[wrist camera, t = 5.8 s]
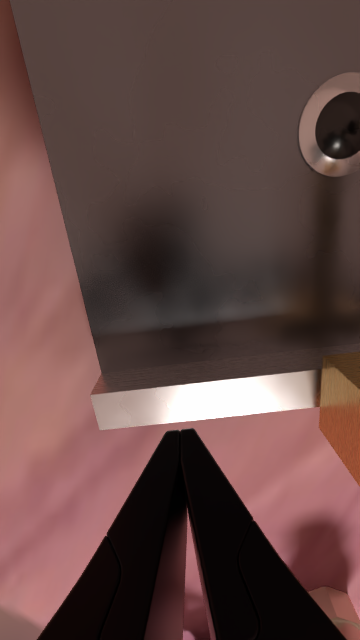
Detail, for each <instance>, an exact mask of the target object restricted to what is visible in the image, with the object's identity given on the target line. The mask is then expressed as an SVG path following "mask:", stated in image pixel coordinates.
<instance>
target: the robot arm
mask: <svg viewBox="0 0 360 640" xmlns="http://www.w3.org/2000/svg"><path fill="white" fill-rule="evenodd" d="M187 508H188V514H189V521H190V527H191V532H192V538H193V543H194V549H195V554H196V560H197V565H198V571H199V576H200V582H201V587H202V593H203V598H204V604H205V609H206V615H207V620H208V626H209V631H210V637H211V640H347V639H346V638H345V636H344V635H343V634H342V633H341V632H340V630H339V629H338V628H337V627H336V626H335V624H334V623H333V622H332V621H331V619H330V618H329V617H328V616H327V615H326V613H325V612H324V611H323V610H322V609H321V607H320V606H319V605H318V604H317V602H316V601H315V600H314V599H313V598H312V596H311V595H310V594H309V593H308V592H307V590H306V589H305V588H304V587H303V586H302V584H301V583H300V582H299V581H298V579H297V578H296V577H295V575H294V574H293V573H292V572H291V570H290V569H289V568H288V567H287V565H286V564H285V563H284V561H283V560H282V559H281V558H280V556H279V555H278V553H277V552H276V551H275V549H274V548H273V546H272V545H271V543H270V542H269V541H268V539H267V538H266V536H265V535H264V533H263V532H262V530H261V529H260V527H259V526H258V524H257V523H256V521H254V520H253V517H252V516H251V514H250V513H249V511H248V510H247V508H246V506H245V505H244V503H243V502H242V500H241V499H240V497H239V496H238V494H237V493H236V491H235V490H234V488H233V487H232V485H231V484H230V482H229V481H228V479H227V478H226V476H225V475H224V473H223V472H222V470H221V469H220V467H219V466H218V464H217V463H216V461H215V460H214V458H213V457H212V455H211V454H210V452H209V450H208V449H207V447H206V446H205V444H204V443H203V441H202V440H201V438H200V437H199V435H198V434H197V432H196V431H195V430H194V429H193V428H190V429H182V430H181V431H179V430H172V431H167V432H166V433H165V434H164V436H163V438H162V440H161V441H160V443H159V445H158V446H157V448H156V450H155V452H154V453H153V455H152V457H151V458H150V460H149V462H148V464H147V465H146V467H145V469H144V470H143V472H142V474H141V476H140V477H139V479H138V481H137V482H136V484H135V486H134V488H133V489H132V491H131V493H130V494H129V496H128V498H127V499H126V501H125V503H124V505H123V506H122V508H121V510H120V511H119V513H118V515H117V517H116V518H115V520H114V522H113V523H112V525H111V527H110V529H109V530H108V532H107V536H105V537H104V538H103V540H102V542H101V544H100V545H99V547H98V549H97V551H96V552H95V554H94V556H93V557H92V559H91V560H90V562H89V564H88V565H87V567H86V569H85V570H84V572H83V573H82V575H81V577H80V578H79V580H78V581H77V582H76V584H75V585H74V587H73V588H72V590H71V591H70V593H69V594H68V596H67V597H66V599H65V600H64V602H63V603H62V605H61V606H60V607H59V609H58V610H57V612H56V613H55V614H54V616H53V617H52V619H51V620H50V622H49V623H48V624H47V626H46V627H45V629H44V630H43V631H42V633H41V634H40V636H39V637H38V639H37V640H183V619H184V594H185V569H186V544H187Z"/></svg>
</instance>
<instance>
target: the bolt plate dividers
mask: <svg viewBox="0 0 360 640" xmlns="http://www.w3.org/2000/svg"><path fill="white" fill-rule="evenodd" d="M10 4H11V8H12V12H13V16H14V20H15V24H16V28H17V32H18V36H19V40H20V45H21V49H22V53H23V57H24V61H25V65H26V69H27V73H28V77H29V81H30V85H31V89H32V93H33V97H34V101H35V105H36V109H37V113H38V117H39V121H40V125H41V130H42V134H43V138H44V142H45V146H46V150H47V154H48V158H49V162H50V166H51V170H52V174H53V178H54V182H55V186H56V190H57V194H58V198H59V202H60V206H61V211H62V215H63V219H64V223H65V227H66V231H67V235H68V239H69V243H70V247H71V251H72V255H73V259H74V263H75V267H76V271H77V275H78V279H79V283H80V287H81V291H82V296H83V300H84V304H85V308H86V312H87V316H88V320H89V324H90V328H91V332H92V336H93V340H94V344H95V348H96V352H97V356H98V360H99V364H100V368H101V372H102V373H101V375H100V377H99V379H98V381H97V383H96V385H95V387H94V389H93V391H92V393H91V395H90V396H91V400H92V403H93V407H94V411H95V415H96V418H97V422H98V426H99V429H100V430H107V429H116V428H126V427H135V426H144V425H154V424H163V423H172V422H182V421H191V420H200V419H210V418H219V417H228V416H238V415H247V414H256V413H266V412H275V411H284V410H294V409H303V408H312V407H320V399H321V379H322V358H323V356H326V355H335V354H344V353H353V352H360V0H10Z"/></svg>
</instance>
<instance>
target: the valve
mask: <svg viewBox="0 0 360 640" xmlns="http://www.w3.org/2000/svg"><path fill="white" fill-rule="evenodd" d="M308 593H309V594H310V595H311V596H312V598H313V599H314V600H315V601H316V602H317V604H318V605H319V606H320V607H321V609H322V610H323V611H324V612H325V613H326V615H327V616H328V617H329V618H330V619H331V621H332V622H333V623H334V624H335V626H336V627H337V628H338V629H339V630H340V632H341V633H342V634H343V635H344V636H345V638H346V639H347V640H360V620H359V617H358V615H357V613H356V611H355V609H354V606H353V604H352V602H351V600H350V598H349V596H348V594H347V593H344V592H342V591H339V590H336V589H333V588H330V587H327V586H324V587H320V588H317V589H315V590H312V591H310V592H308Z"/></svg>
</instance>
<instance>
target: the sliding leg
mask: <svg viewBox="0 0 360 640" xmlns="http://www.w3.org/2000/svg"><path fill="white" fill-rule="evenodd" d="M319 428H320V430H321V431H322V433H323V434H324V436H325V437H326V439H327V440H328V441H329V443H330V444H331V446H332V447H333V449H334V450H335V452H336V453H337V454H338V456H339V457H340V459H341V460H342V462H343V463H344V465H345V466H346V468H347V469H348V470H349V472H350V473H351V475H352V476H353V478H354V479H355V481H356V482H357V483H358V485H359V486H360V352H353V353H344V354H335V355H326V356H323V358H322V379H321V399H320V419H319Z"/></svg>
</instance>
